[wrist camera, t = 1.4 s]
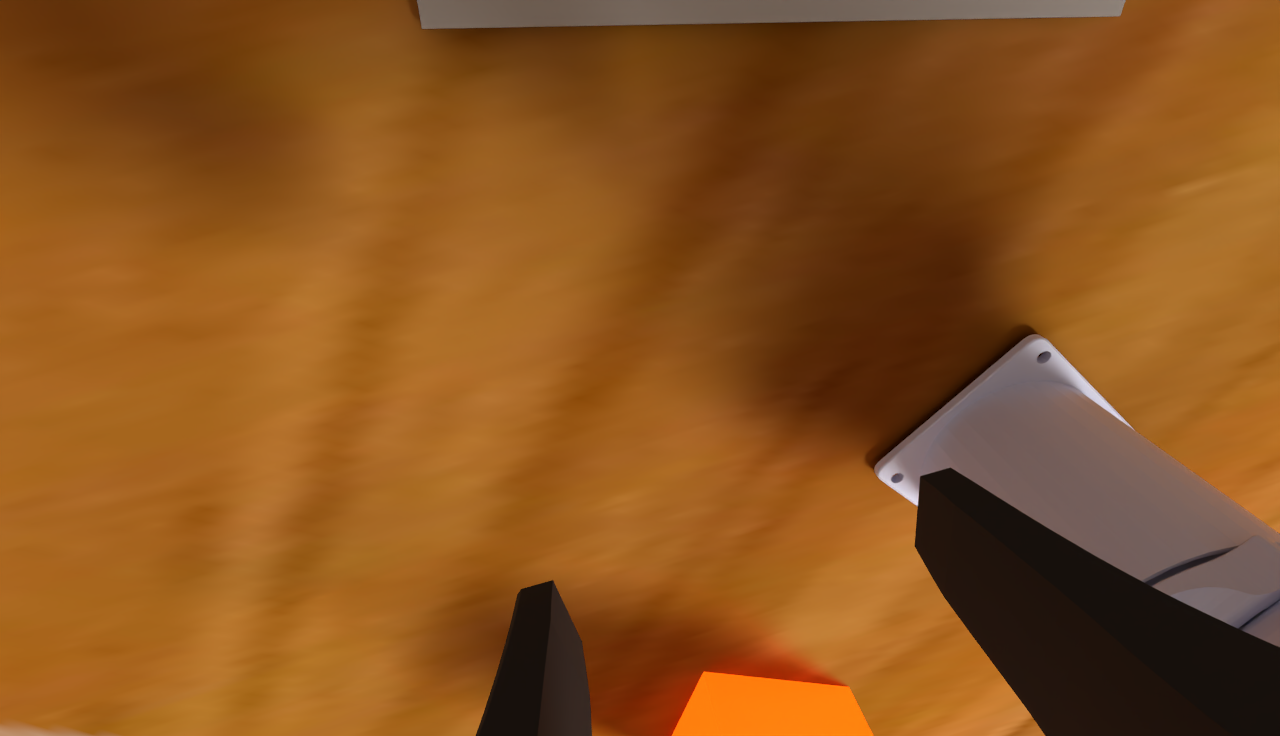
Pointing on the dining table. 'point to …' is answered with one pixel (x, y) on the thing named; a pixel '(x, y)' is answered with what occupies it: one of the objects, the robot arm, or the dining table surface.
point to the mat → (738, 11)
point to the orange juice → (769, 708)
